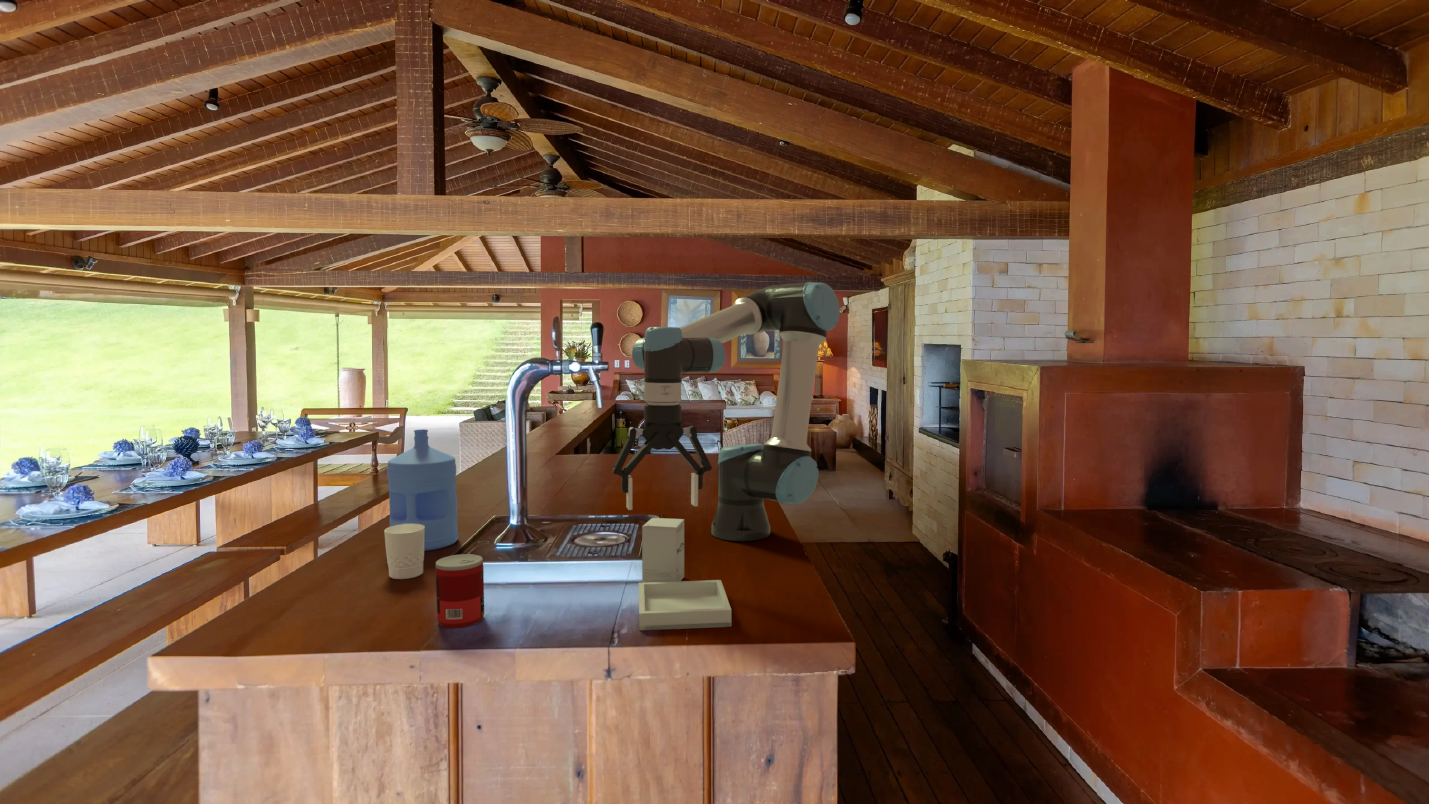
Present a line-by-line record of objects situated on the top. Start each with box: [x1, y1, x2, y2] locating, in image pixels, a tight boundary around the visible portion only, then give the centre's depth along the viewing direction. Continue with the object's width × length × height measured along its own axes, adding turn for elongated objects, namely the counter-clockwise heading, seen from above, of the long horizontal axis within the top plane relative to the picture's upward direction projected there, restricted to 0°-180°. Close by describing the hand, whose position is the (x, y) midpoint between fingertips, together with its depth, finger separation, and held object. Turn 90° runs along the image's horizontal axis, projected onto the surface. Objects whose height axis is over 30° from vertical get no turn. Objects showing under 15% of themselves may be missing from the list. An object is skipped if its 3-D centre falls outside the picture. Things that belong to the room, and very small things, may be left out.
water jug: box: [386, 428, 459, 552], centre depth 178 cm, size 16×16×28 cm
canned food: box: [435, 553, 485, 629], centre depth 130 cm, size 8×8×11 cm
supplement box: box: [641, 517, 685, 583], centre depth 150 cm, size 7×7×13 cm
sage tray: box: [638, 579, 732, 631], centre depth 134 cm, size 16×16×3 cm
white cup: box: [383, 524, 425, 580], centre depth 155 cm, size 8×8×10 cm
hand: (662, 506), depth 149 cm, fingers open, 13 cm apart
